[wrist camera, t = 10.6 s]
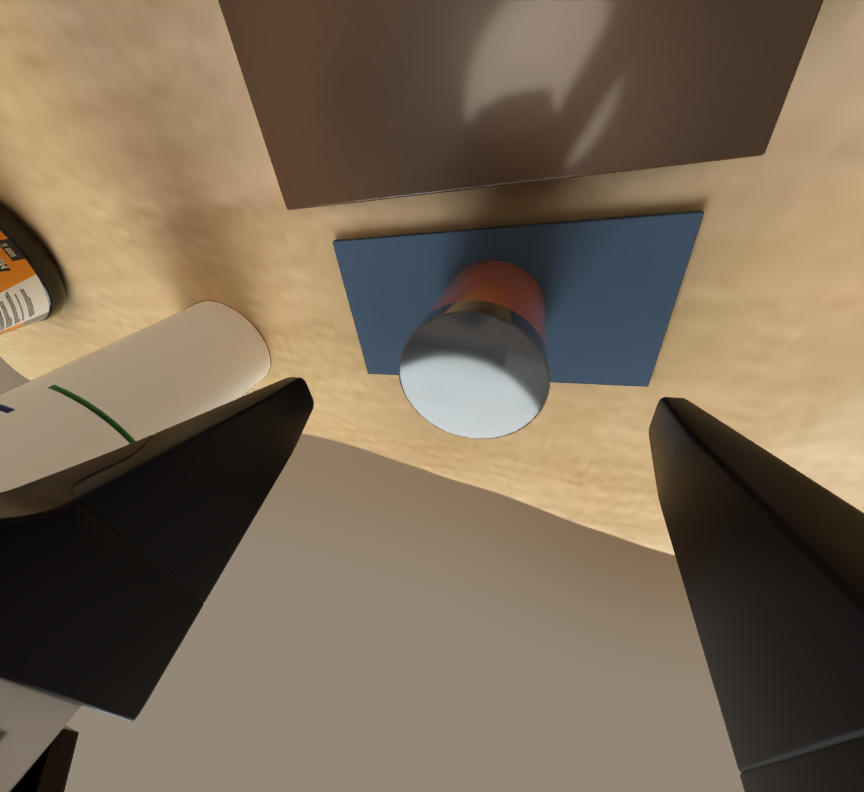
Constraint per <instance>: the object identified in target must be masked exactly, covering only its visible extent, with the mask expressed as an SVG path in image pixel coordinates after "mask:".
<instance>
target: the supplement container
mask: <svg viewBox="0 0 864 792" xmlns="http://www.w3.org/2000/svg"><path fill="white" fill-rule="evenodd" d="M64 305H65V289H64V285H63V282H62V279H61V277H60V274H59V272H58V270H57V268H56V267H55V265H54V263H53V262H52V260H51V258H50V257H49V255H48V254H47V253H46V251H45V250H44V249H43V247H42V246H41V245H40V244H39V242H38V241H37V240H36V239H35V238H34V237H33V235H32V234H31V233H30V232H29V231H28V230H27V229H26V228H25V227H24V226H23V225H22V224H21V223H20V222H19V221H18V220H16V219H15V218H14V217H13V216H12V215H11V214H9V213H8V212H7V211H6V210H5V209H3V208H2V207H1V206H0V335H1V334H3V333H6V332H9V331H12V330H15V329H18V328H20V327H23V326H26V325H29V324H32V323H35V322H37V321H43V320H46V319H49V318H52V317H54V316H56V315H57V314H58V313H60V312H61V310H62V309H63V307H64Z"/></svg>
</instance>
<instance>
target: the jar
mask: <svg viewBox="0 0 864 792" xmlns="http://www.w3.org/2000/svg"><path fill="white" fill-rule="evenodd" d="M399 377H400V382H401V386H402V389H403V391H404V394H405V396H406V397H407V399H408V401H409V402H410V404H411V405H412V406H413V408H414V409H415V410H416V411H417V412H418V413H419V414H420V415H421V416H422V417H423V418H424V419H425V420H427V421H428V422H430V423H431V424H432V425H434V426H436V427H438V428H439V429H441V430H444V431H446V432H448V433H451V434H454V435H457V436H461V437H466V438H472V439H491V438H498V437H502V436H506V435H509V434H511V433H514V432H516V431H518V430H520V429H522V428H523V427H525V426H526V425H528V424H529V423H530V422H531V421H532V420H533V419H534V418H535V417H536V416H537V415H538V414H539V412H540V411H541V410H542V408H543V406H544V405H545V402H546V400H547V397H548V394H549V389H550V363H549V356H548V352H547V335H546V303H545V298H544V295H543V292H542V290H541V288H540V286H539V285H538V283H537V281H536V280H535V279H534V278H533V277H532V276H531V275H530V274H529V273H528V272H527V271H525V270H524V269H522V268H521V267H519V266H517V265H515V264H512V263H509V262H506V261H499V260H487V261H481V262H477V263H474V264H472V265H469V266H467V267H466V268H464V269H462V270H461V271H460V272H458V273H457V274H456V275H455V276H454V277H453V278H452V279H451V281H450V282H449V283H448V285H447V286H446V288H445V289H444V291H443V292H442V294H441V295H440V297H439V298H438V299H437V301H436V302H435V304H434V305H433V307H432V308H431V310H430V311H429V313H428V314H427V316H426V317H425V318H424V319H423V320H422V321H421V322H419V324H418V325H417V326H416V328H415V329H414V331H413V332H412V334H411V335H410V336H409V338H408V339H407V341H406V343H405V345H404V347H403V349H402V352H401V355H400V360H399Z"/></svg>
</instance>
